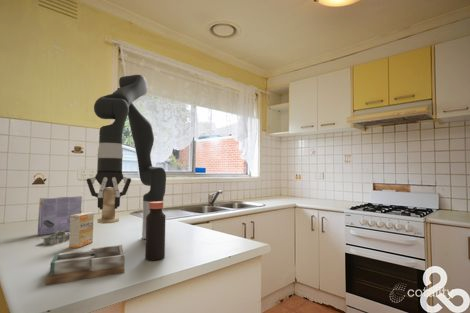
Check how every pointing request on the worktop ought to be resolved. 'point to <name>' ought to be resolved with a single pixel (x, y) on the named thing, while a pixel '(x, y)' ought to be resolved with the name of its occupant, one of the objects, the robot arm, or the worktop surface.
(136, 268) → the worktop surface
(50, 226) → the cake pan box
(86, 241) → the supplement box
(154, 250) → the bottle
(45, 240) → the egg carton
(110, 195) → the keyhole peg
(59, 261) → the brown shallow boxy piece
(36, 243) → the worktop surface
